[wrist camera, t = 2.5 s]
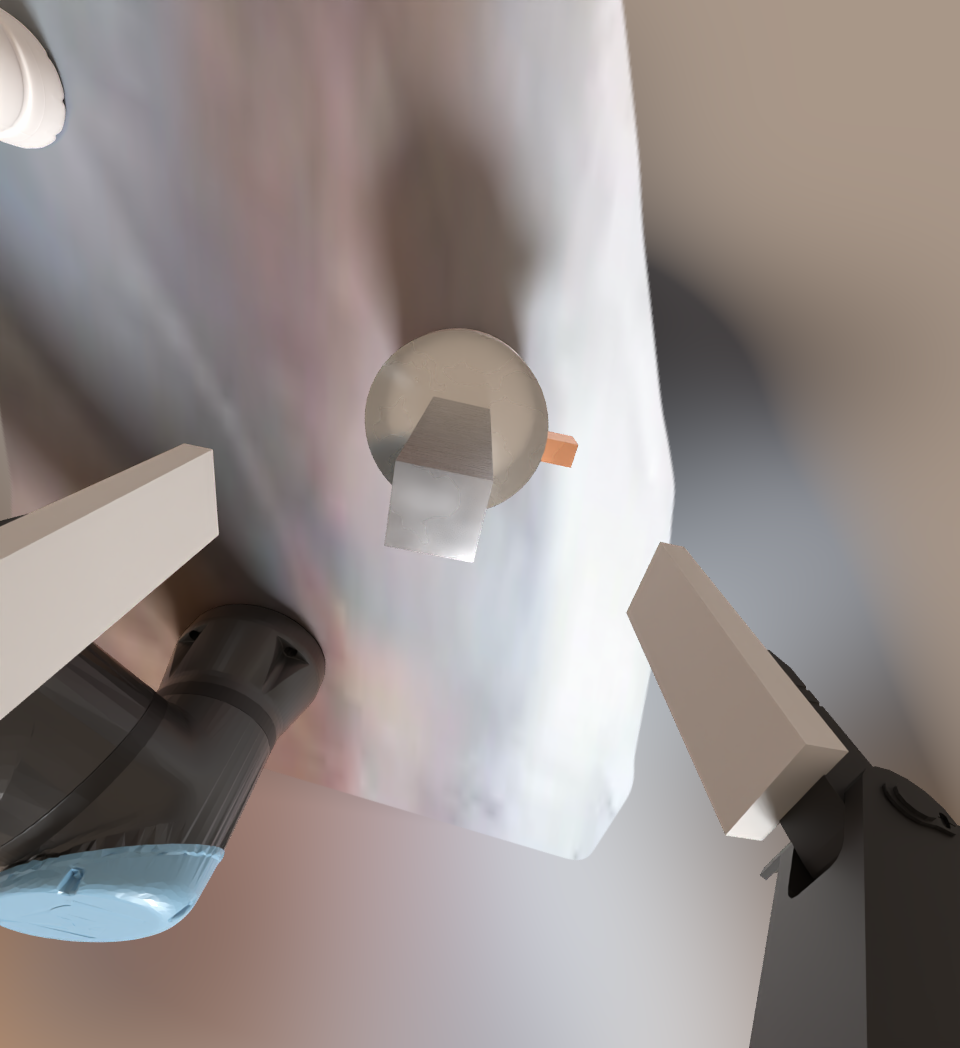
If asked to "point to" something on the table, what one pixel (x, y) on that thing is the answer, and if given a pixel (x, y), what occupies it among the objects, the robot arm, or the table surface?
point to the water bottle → (27, 88)
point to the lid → (456, 437)
